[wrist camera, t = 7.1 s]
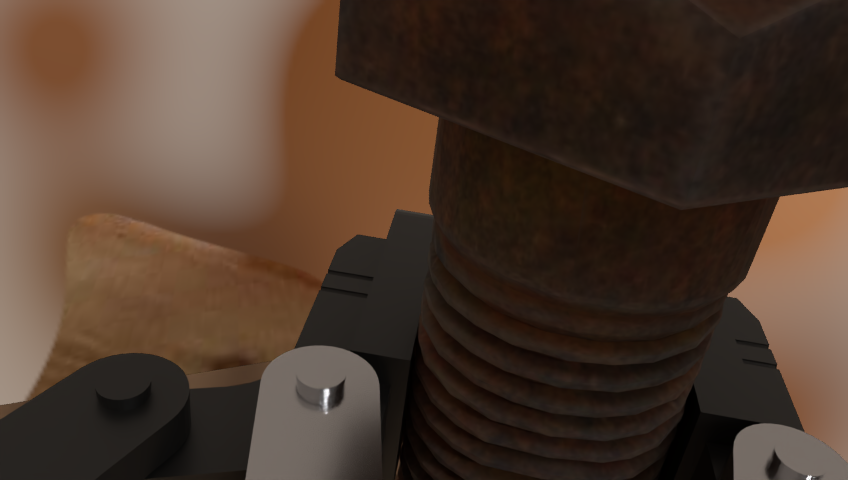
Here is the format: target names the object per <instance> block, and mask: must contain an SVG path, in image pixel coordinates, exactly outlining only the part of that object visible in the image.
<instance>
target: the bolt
mask: <svg viewBox="0 0 848 480" xmlns="http://www.w3.org/2000/svg"><path fill="white" fill-rule="evenodd" d="M335 76H337V77H338V78H340V79H341V80H344V81H346V82H349V83H352V84H354V85H357V86H359V87H362V88H364V89H367V90H370V91H372V92H375V93H378V94H380V95H383V96H385V97H388V98H390V99H393V100H396V101H398V102H401V103H403V104H406V105H409V106H411V107H414V108H417V109H419V110H422V111H424V112H427V113H429V114H432V115H435V116H437V117H439V122H438V128H437V136H436V144H435V151H434V159H433V166H432V173H431V180H430V188H429V204H430V207H431V210H432V213H433V216H434V218H433V225H432V241H431V242H430V246H429V252H428V258H427V262H428V266H429V268H428V271H427V274H426V277H425V281H424V291H423V295H422V301H421V314H420V315H419V324H418V330H417V341H416V355H415V357H414V362H413V367H412V372H411V383H410V388H409V393H408V404H407V416H406V419H405V424H404V430H403V444H402V448H401V451H400V458H399V459H400V465H399V469H398V473H397V480H658V478H659V475H660V472H661V469H662V466H663V464H664V462H665V459H666V457H667V455H668V451H669V448H670V445H671V443H672V442H673V440H674V438H675V435H676V431H677V424H678V423H679V422H680V420H681V419H682V417H683V414H684V409H685V403H686V399H687V397H688V395H689V393H690V390H691V388H692V386H693V384H694V382H695V378H696V377H697V375H698V374H699V373H700V369H701V366H702V362H703V359H704V356H705V353H706V352H707V350H708V349H709V347H710V343H711V340H712V336H713V333H714V329H715V327H716V326H717V325H718V324H719V322H720V319H721V317H722V312H723V305H724V301H725V299H726V297H727V295H728V293H730V292H731V291H733V290H734V289H735V288H736V287H737V286H738V285H739V284H740V283H741V282H742V281H743V280H744V279H745V278H746V275H747V273H748V271H749V268H750V266H751V264H752V262H753V259H754V257H755V254H756V252H757V250H758V247H759V245H760V242H761V240H762V238H763V235H764V233H765V231H766V228H767V226H768V223H769V221H770V219H771V216H772V214H773V211H774V209H775V206H776V204H777V202H778V200H779V197H780V196H787V195H794V194H802V193H809V192H816V191H824V190H830V189H838V188H844V187H848V0H340V12H339V26H338V41H337V55H336V69H335Z"/></svg>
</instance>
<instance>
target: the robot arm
mask: <svg viewBox="0 0 848 480" xmlns="http://www.w3.org/2000/svg"><path fill="white" fill-rule="evenodd" d="M433 218H434V216H433V215H429V214H423V213H417V212H411V211H405V210H399V209H397V210H396V212H395V215H394V218H393V221H392V224H391V227H390V230H389V233H388V236H387V239H381V238H376V237H369V236H363V235H356V236H355V237H354V238H352V239H351V240H350V241H348V242H347V243H345V244H344V245H343V246H341V247H340V248H339V249H337V251H336V253H335V255H334V258H333V260H332V263H331V265H330V267H329V269H328V274H326V277H325V279H324V281H323V283H322V286H321V290H319V293H318V295H317V297H316V300H315V302H314V304H313V307H312V309H311V311H310V314H309V316H308V318H307V321H306V323H305V325H304V328H303V330H302V332H301V335H300V337H299V339H298V341H297V344H296V346H295V348H294V349H293V350H291V351H288V352H285V353H284V354H282V355H280V356H278V357H277V358H276V359H274V360H273V361H272V362H271V363H270V364H269V365H268V366H267V367H266V369H265V371H264V372H263V375H262V378H261V379H260V380H257V381H254V382H251V383H246V384H242V385H236V386H227V387H210V388H194V389H189V382H188V378H187V376H186V375H185V373H184V371H183V370H182V369H181V368H180V367H179V366H178V365H176V364H174V363H173V362H171V361H169V360H167V359H165V358H163V357H159V356H155V355H150V354H144V353H128V354H119V355H113V356H109V357H105V358H102V359H99V360H97V361H94V362H92V363H89V364H88V365H86V366H84V367H82V368H80V369H79V370H77V371H76V372H74V373H73V374H71V375H69V376H68V377H66V378H65V379H63V380H62V381H60V382H58V383H57V384H55V385H54V386H52V387H50V388H49V389H47V390H46V391H44V392H43V393H41V394H39V395H38V396H36V397H35V398H33V399H32V400H30V401H28V402H27V403H25V404H24V405H22V406H21V407H19V408H17V409H16V410H14V411H13V412H11V413H9V414H8V415H6V416H5V417H3V418H2V419H0V480H395V477H396V472H397V467H398V462H399V457H400V451H401V447H402V443H403V430H404V424H405V419H406V416H407V404H408V393H409V388H410V383H411V372H412V367H413V362H414V357H415V355H416V341H417V330H418V324H419V315H420V314H421V301H422V295H423V291H424V281H425V277H426V274H427V271H428V268H429V266H428V262H427V258H428V252H429V246H430V242H431V241H432V225H433ZM768 347H769V344H768V341H767V339H766V336H765V334H764V331H763V329H762V326H761V324H760V322H759V320H758V319H757V318H756V317H755V316H754V315H753V314H752V313H751V312H750V311H749V310H748V309H747V308H746V307H745V306H744V305H743V304H742V303H741V302H740V301H739V300H738V299H737V298H732V297H726V299H725V301H724V305H723V312H722V317H721V319H720V322H719V324H718V325H717V326H716V327H715V329H714V333H713V336H712V340H711V343H710V347H709V349H708V350H707V352H706V353H705V356H704V359H703V362H702V366H701V369H700V373H699V374H698V375H697V377H696V378H695V382H694V384H693V386H692V388H691V390H690V393H689V395H688V397H687V399H686V403H685V409H684V414H683V417H682V419H681V420H680V422H679V423H678V424H677V431H676V435H675V438H674V440H673V442H672V443H671V445H670V448H669V451H668V455H667V457H666V459H665V462H664V464H663V466H662V469H661V472H660V475H659V478H658V480H848V463H847V462H846V461H845V460H844V459H843V458H842V457H841V456H840V455H839V454H838V453H837V452H836V451H834V450H833V449H832V448H831V447H829V446H828V445H826V444H825V443H824V442H822V441H820V440H819V439H817V438H815V437H813V436H812V435H809V434H807V433H805V432H804V429H803V427H802V425H801V422H800V420H799V417H798V415H797V412H796V410H795V407H794V405H793V403H792V400H791V397H790V395H789V393H788V390H787V388H786V385H785V383H784V380H783V378H782V375H781V373H780V371H779V370H778V369H776V367H777V363H776V361H775V358H774V356H773V354H772V351H771V350H770V349H768Z"/></svg>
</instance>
